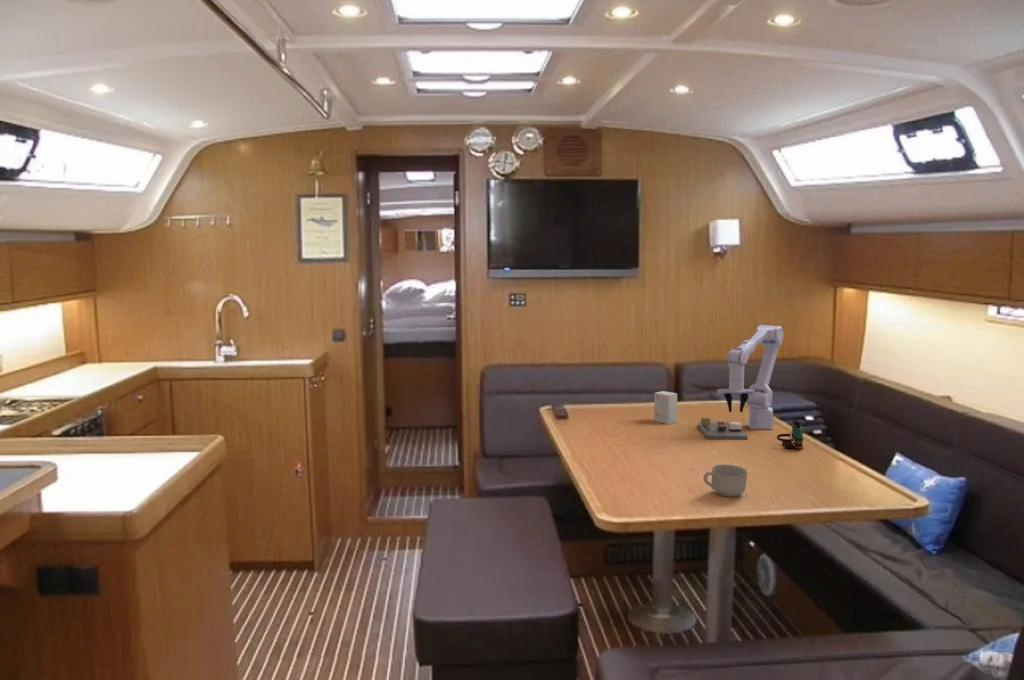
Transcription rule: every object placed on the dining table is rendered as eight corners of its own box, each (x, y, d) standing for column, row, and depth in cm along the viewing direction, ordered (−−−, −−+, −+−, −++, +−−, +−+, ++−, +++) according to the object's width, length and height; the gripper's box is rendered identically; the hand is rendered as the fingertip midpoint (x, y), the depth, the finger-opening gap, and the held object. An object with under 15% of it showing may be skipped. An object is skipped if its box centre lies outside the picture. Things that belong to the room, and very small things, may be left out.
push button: (739, 426, 310) (739, 422, 309) (741, 429, 305) (741, 424, 305) (728, 426, 310) (728, 421, 310) (730, 429, 306) (730, 424, 305)
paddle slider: (709, 424, 316) (709, 417, 316) (710, 425, 314) (710, 418, 314) (699, 424, 317) (700, 417, 316) (700, 425, 315) (700, 418, 314)
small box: (677, 422, 329) (677, 393, 327) (668, 424, 325) (668, 395, 323) (662, 419, 335) (663, 390, 333) (653, 421, 331) (654, 392, 329)
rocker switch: (723, 424, 310) (724, 421, 310) (726, 429, 306) (726, 426, 305) (717, 424, 310) (717, 421, 310) (719, 429, 306) (719, 426, 305)
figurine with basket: (774, 419, 292) (801, 417, 290) (776, 445, 293) (803, 444, 291) (777, 424, 283) (805, 422, 281) (779, 451, 284) (807, 450, 282)
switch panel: (735, 426, 320) (735, 420, 320) (747, 439, 299) (747, 433, 298) (697, 425, 322) (698, 420, 322) (706, 439, 300) (706, 432, 300)
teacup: (740, 488, 239) (740, 463, 238) (751, 499, 229) (752, 474, 228) (697, 488, 239) (697, 464, 238) (707, 500, 228) (707, 474, 227)
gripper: (720, 380, 302) (719, 413, 303) (757, 380, 300) (756, 413, 302) (717, 377, 309) (716, 409, 310) (753, 377, 307) (751, 410, 309)
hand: (735, 411), depth 307 cm, fingers open, 4 cm apart
